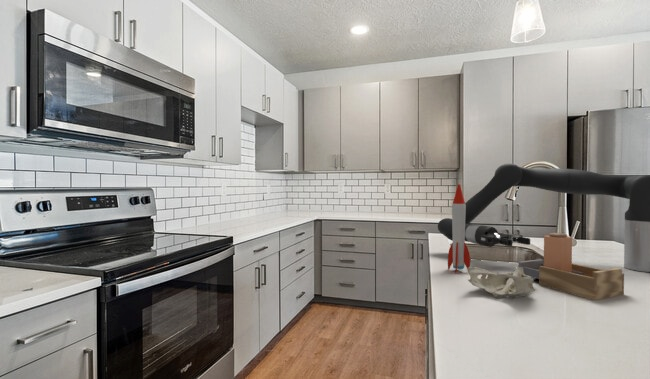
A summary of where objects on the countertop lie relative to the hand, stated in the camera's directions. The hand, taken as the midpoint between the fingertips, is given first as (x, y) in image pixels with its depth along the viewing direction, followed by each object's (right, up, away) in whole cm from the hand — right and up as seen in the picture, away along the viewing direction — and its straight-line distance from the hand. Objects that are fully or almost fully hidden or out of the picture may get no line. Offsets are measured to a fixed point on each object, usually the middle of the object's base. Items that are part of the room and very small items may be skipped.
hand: (520, 242), depth 112 cm
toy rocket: (-20, -11, +3) cm, 22 cm away
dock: (+7, -11, -17) cm, 21 cm away
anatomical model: (-16, -11, -20) cm, 28 cm away
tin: (+4, -8, -11) cm, 15 cm away
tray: (+4, -9, -9) cm, 13 cm away
